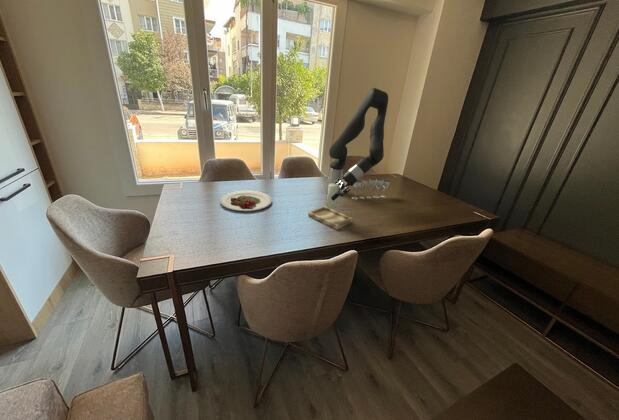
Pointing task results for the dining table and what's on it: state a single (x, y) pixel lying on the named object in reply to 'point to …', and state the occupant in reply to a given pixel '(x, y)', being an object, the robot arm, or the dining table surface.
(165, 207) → the dining table surface
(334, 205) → the sage domed cylinder
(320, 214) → the tray
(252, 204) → the plated food
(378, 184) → the goblet set
